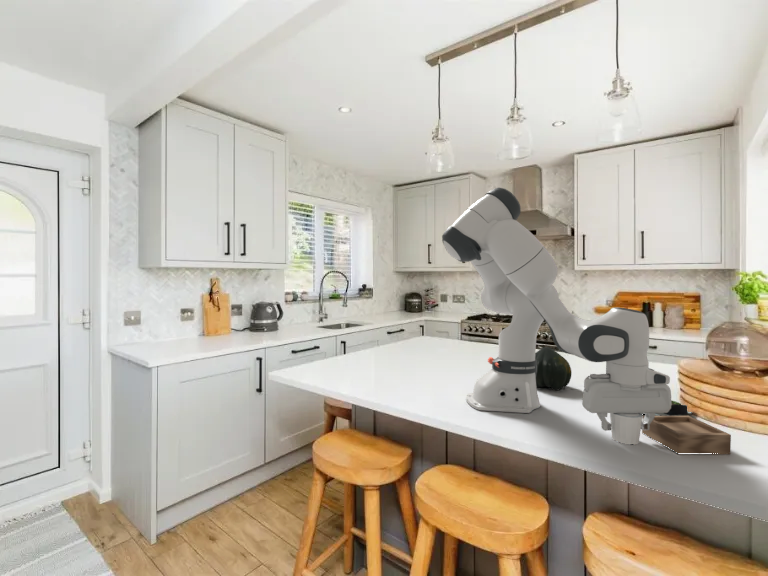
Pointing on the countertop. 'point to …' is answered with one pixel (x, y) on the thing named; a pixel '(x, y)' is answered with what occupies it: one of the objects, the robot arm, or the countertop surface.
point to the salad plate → (676, 410)
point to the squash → (552, 369)
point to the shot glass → (626, 427)
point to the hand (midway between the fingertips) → (625, 429)
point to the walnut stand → (688, 435)
